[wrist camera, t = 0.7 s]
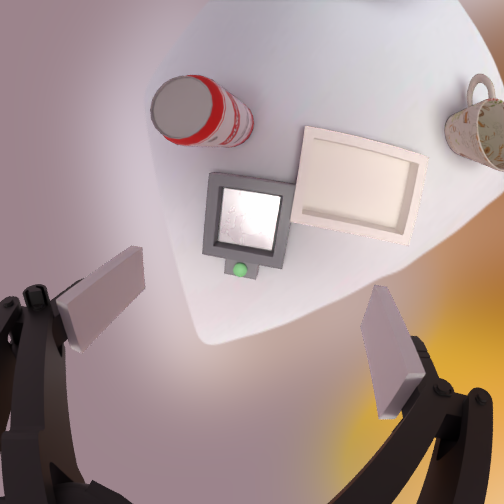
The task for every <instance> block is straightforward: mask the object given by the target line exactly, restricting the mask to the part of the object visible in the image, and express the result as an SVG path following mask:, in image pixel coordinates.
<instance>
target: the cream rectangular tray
mask: <svg viewBox="0 0 504 504" xmlns="http://www.w3.org/2000/svg"><path fill="white" fill-rule="evenodd" d="M428 159H429V157H427V156H424V155H421V154H418V153H415V152H412V151H409V150H405V149H402V148H399V147H395V146H392V145H389V144H385V143H381V142H378V141H374V140H370V139H366V138H362V137H358V136H354V135H350V134H345V133H341V132H336V131H331V130H326V129H321V128H316V127H310V126H305V130H304V137H303V144H302V150H301V157H300V163H299V170H298V176H297V182H296V188H295V195H294V200H293V206H292V212H291V218H290V222H293V223H298V224H304V225H309V226H314V227H320V228H325V229H330V230H335V231H340V232H345V233H350V234H355V235H359V236H364V237H369V238H374V239H378V240H383V241H388V242H392V243H397V244H401V245H405V246H409V243H410V240H411V236H412V232H413V229H414V225H415V221H416V217H417V213H418V209H419V205H420V200H421V196H422V191H423V187H424V182H425V176H426V171H427V165H428Z"/></svg>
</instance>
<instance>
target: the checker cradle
mask: <svg viewBox="0 0 504 504" xmlns="http://www.w3.org/2000/svg"><path fill="white" fill-rule="evenodd" d="M223 187H230V188H237V189H244V190H250V191H257V192H263V193H269V194H275V195H281V196H283V200H282V207H281V213H280V219H279V225H278V231H277V237H276V243H275V249H274V251H269V250H264V249H258V248H253V247H248V246H242V245H237V244H231V243H226V242H220V241H218V232H219V221H220V212H221V202H222V193H223ZM295 188H296V184H291V183H285V182H279V181H273V180H267V179H261V178H254V177H247V176H240V175H233V174H225V173H217V172H213V173H209V181H208V191H207V201H206V212H205V224H204V237H203V250H202V254H205V255H210V256H215V257H220V258H225V259H226V261H225V270H224V273H225V274H230V275H235V276H238V277H245V278H250V279H255V280H256V278H257V275H258V269H259V265H262V266H267V267H273V268H278V269H282V266H283V261H284V256H285V250H286V245H287V240H288V234H289V228H290V223H291V222H290V218H291V212H292V206H293V200H294V195H295Z"/></svg>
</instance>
